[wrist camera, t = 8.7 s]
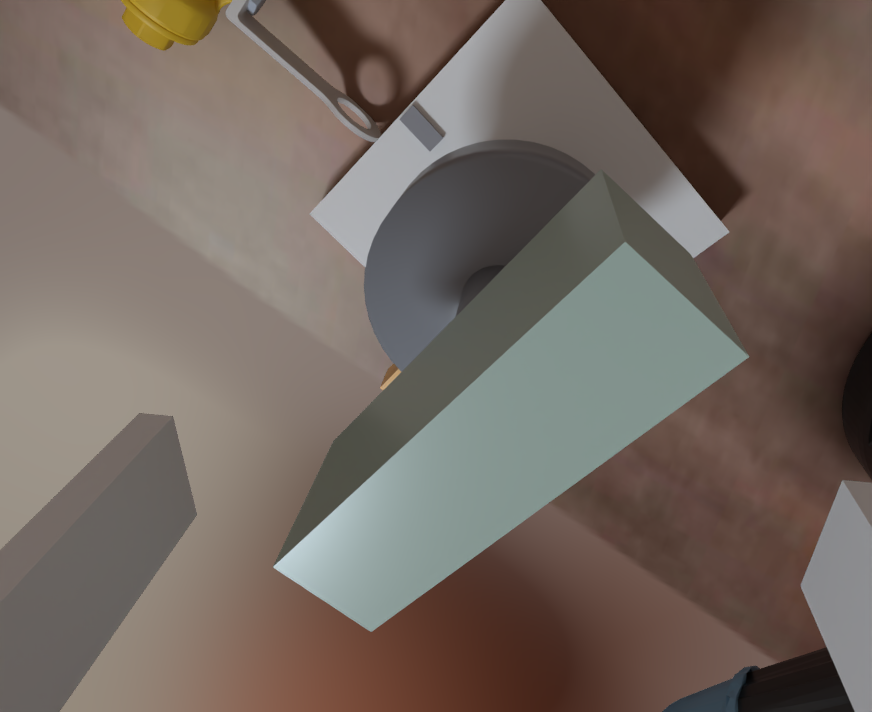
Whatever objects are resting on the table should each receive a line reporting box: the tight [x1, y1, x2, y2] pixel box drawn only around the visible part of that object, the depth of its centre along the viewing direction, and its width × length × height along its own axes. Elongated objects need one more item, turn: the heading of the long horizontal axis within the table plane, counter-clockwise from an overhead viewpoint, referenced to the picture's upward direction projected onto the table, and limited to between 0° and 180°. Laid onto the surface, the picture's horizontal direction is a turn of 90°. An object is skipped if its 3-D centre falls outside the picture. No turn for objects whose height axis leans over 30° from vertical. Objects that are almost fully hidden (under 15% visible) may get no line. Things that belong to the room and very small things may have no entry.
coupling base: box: [310, 0, 729, 268], centre depth 26 cm, size 13×13×6 cm
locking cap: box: [273, 140, 749, 632], centre depth 18 cm, size 12×9×12 cm
